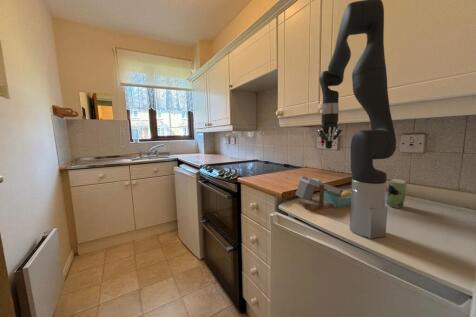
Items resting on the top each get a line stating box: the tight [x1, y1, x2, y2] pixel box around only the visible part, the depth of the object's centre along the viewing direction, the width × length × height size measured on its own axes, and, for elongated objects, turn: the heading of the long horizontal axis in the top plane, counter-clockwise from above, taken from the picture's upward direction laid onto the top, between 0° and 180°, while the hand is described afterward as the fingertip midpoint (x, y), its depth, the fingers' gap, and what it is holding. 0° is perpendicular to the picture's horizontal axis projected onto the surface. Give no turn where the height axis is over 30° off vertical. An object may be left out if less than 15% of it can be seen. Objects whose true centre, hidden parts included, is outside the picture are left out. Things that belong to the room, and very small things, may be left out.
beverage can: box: [385, 178, 408, 209], centre depth 86 cm, size 6×7×12 cm
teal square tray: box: [324, 188, 351, 208], centre depth 94 cm, size 12×12×4 cm
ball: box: [341, 190, 350, 197], centre depth 94 cm, size 4×4×4 cm
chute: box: [295, 175, 342, 201], centre depth 93 cm, size 17×12×10 cm
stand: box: [297, 185, 335, 211], centre depth 90 cm, size 12×10×10 cm
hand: (328, 148), depth 100 cm, fingers closed
